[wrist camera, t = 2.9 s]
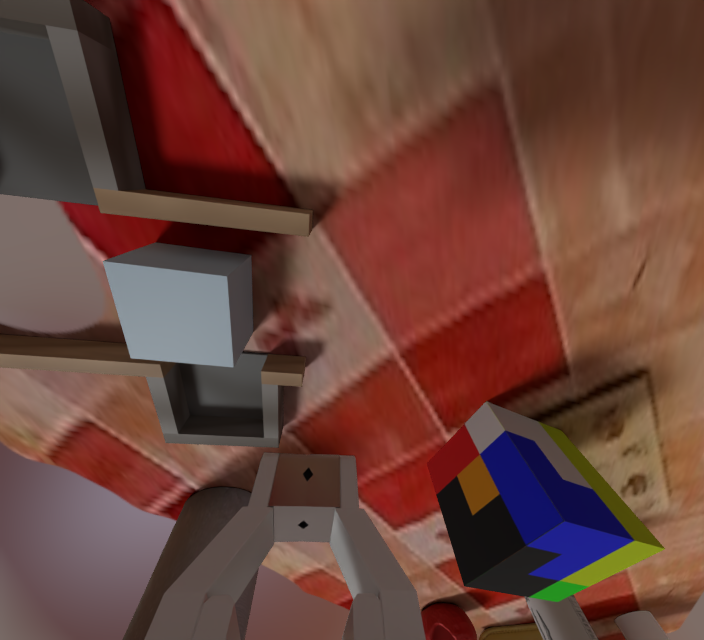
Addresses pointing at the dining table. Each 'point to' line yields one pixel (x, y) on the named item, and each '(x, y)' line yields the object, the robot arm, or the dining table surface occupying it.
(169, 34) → the dining table surface
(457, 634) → the pomegranate
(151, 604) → the pillar candle
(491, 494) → the puzzle toy
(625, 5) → the dining table surface
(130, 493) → the dining table surface
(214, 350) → the block
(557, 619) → the energy drink can
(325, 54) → the dining table surface
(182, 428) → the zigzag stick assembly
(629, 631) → the cylindrical container
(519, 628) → the picnic basket
